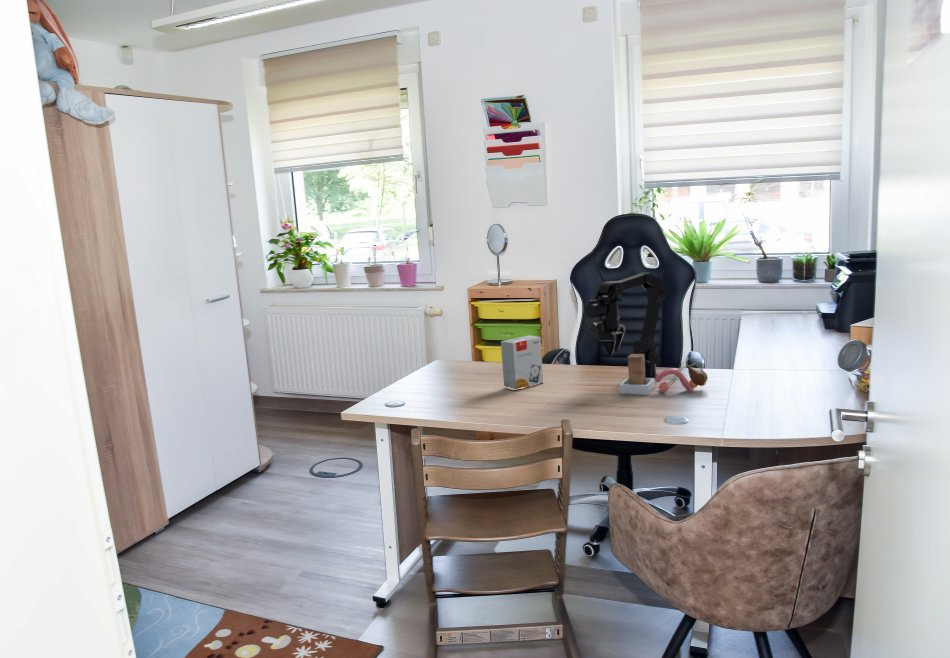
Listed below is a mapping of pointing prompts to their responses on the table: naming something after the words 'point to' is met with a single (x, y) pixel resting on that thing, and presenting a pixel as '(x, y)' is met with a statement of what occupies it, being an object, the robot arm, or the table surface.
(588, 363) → the table surface
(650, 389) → the bin
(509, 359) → the hard drive box
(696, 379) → the anatomy model
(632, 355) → the walnut block
